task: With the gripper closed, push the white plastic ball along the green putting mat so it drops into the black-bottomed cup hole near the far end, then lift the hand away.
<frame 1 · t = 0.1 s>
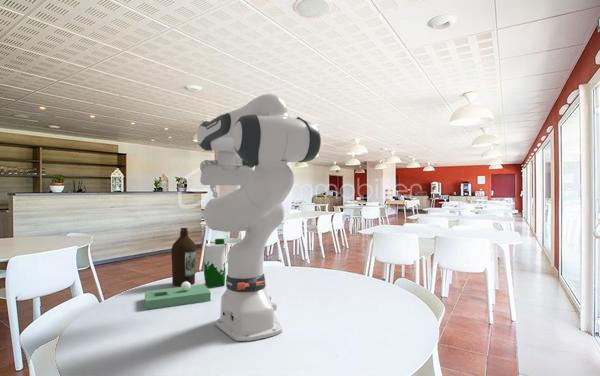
hand: (227, 197, 123), 39 cm above the table, tool pointing down, fingers open, 8 cm apart
milk carton: (214, 285, 142), on the table
olive oil: (183, 284, 144), on the table
golf ball: (185, 286, 123), point 5 cm above the table, touching putting mat
putting mat: (177, 299, 121), on the table
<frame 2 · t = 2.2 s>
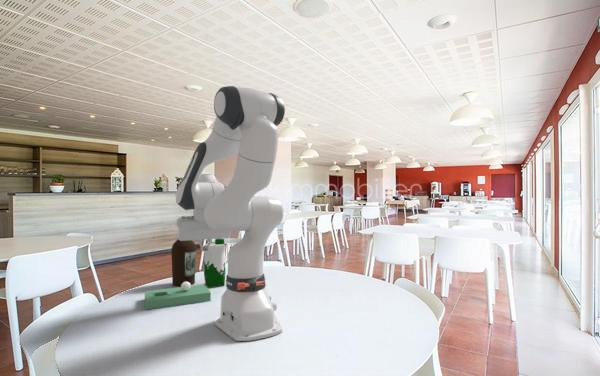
hand: (204, 250, 126), 18 cm above the table, tool pointing down, fingers closed
nothing on the table moved.
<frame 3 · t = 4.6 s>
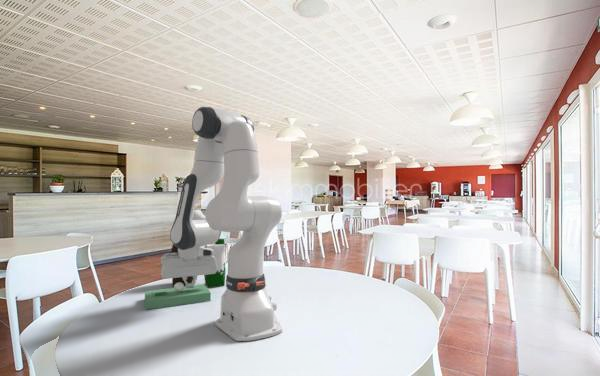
hand: (189, 287, 124), 4 cm above the table, tool pointing down, fingers closed
golf ball: (178, 287, 122), point 5 cm above the table, tilted 79°, touching putting mat
everything else where it was.
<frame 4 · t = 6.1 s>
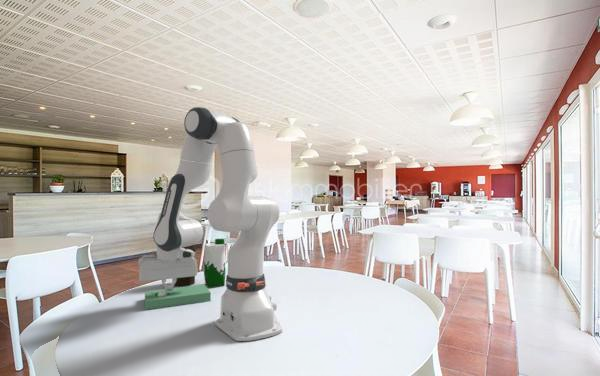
hand: (168, 290, 120), 4 cm above the table, tool pointing down, fingers closed
golf ball: (162, 296, 119), point 2 cm above the table, tilted 67°, touching putting mat
everything else where it was.
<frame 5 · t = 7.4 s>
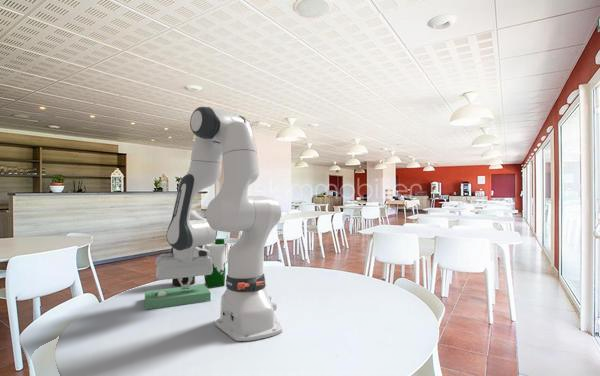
hand: (185, 288, 122), 4 cm above the table, tool pointing down, fingers closed
nothing on the table moved.
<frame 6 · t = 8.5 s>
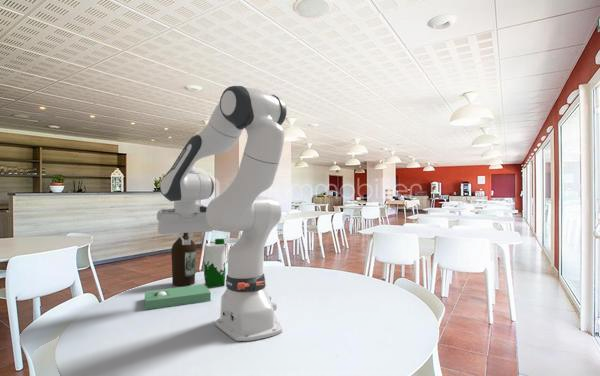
hand: (186, 244, 123), 21 cm above the table, tool pointing down, fingers closed
nothing on the table moved.
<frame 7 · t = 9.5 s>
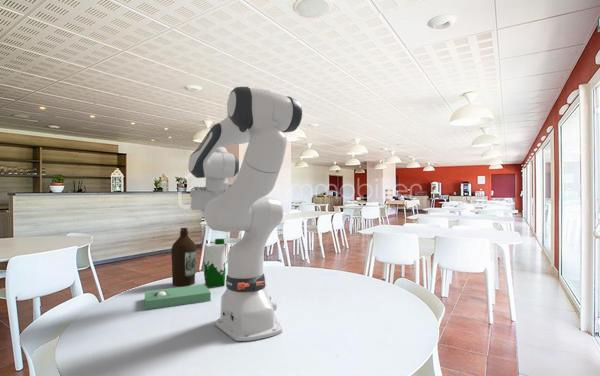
hand: (216, 221, 131), 29 cm above the table, tool pointing down, fingers closed
nothing on the table moved.
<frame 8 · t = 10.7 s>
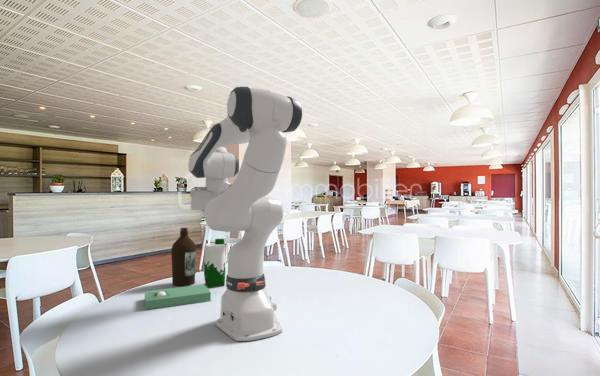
hand: (216, 220, 131), 29 cm above the table, tool pointing down, fingers closed
nothing on the table moved.
at the end: golf ball 0.6 cm from the target spot on the putting mat, point 2.0 cm above the putting mat's base; golf ball point 2.0 cm above the table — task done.
